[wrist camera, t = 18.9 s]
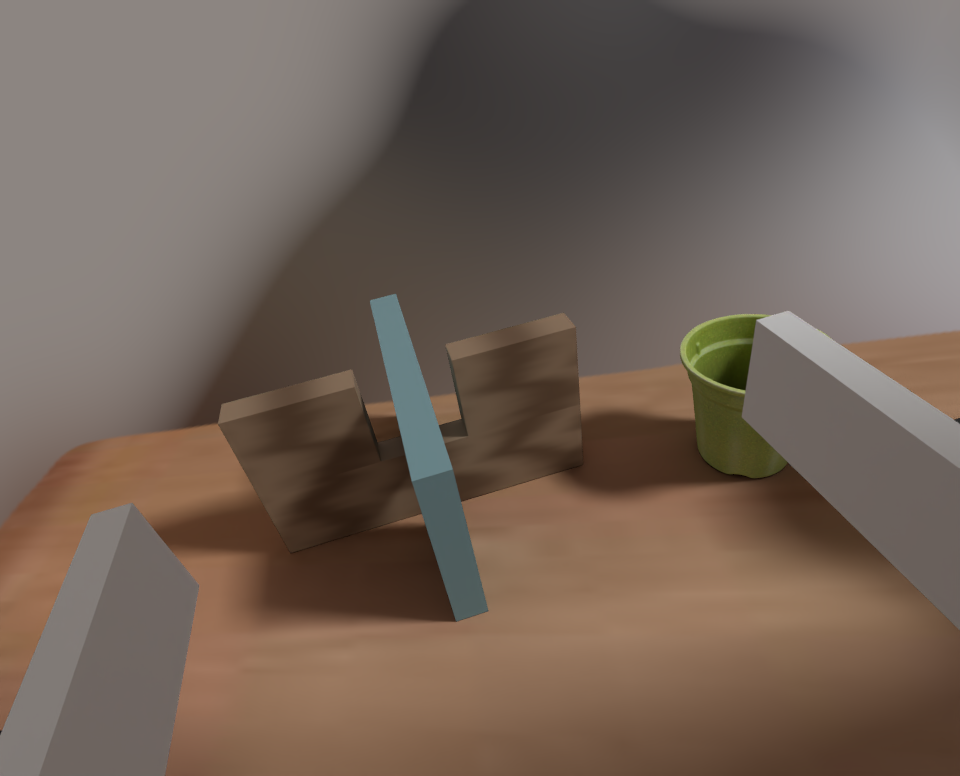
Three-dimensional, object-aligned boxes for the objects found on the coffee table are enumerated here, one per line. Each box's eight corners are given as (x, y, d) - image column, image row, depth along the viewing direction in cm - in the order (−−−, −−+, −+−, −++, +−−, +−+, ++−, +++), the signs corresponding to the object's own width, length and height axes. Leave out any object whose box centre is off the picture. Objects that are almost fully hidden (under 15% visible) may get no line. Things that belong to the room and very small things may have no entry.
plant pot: (646, 437, 43) (650, 343, 38) (741, 393, 46) (757, 299, 41) (739, 519, 36) (759, 416, 31) (846, 462, 39) (881, 358, 34)
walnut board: (573, 447, 44) (563, 312, 37) (583, 464, 42) (575, 327, 35) (290, 531, 41) (221, 404, 34) (290, 553, 40) (217, 424, 32)
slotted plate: (428, 415, 50) (395, 293, 43) (488, 610, 34) (452, 469, 27) (406, 421, 49) (369, 300, 42) (456, 621, 34) (411, 481, 26)
